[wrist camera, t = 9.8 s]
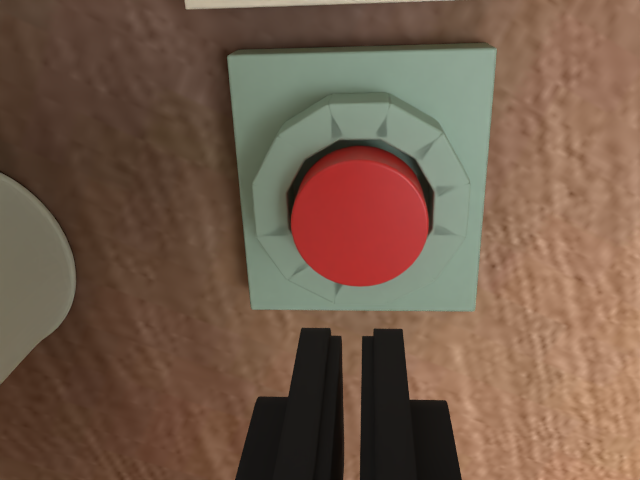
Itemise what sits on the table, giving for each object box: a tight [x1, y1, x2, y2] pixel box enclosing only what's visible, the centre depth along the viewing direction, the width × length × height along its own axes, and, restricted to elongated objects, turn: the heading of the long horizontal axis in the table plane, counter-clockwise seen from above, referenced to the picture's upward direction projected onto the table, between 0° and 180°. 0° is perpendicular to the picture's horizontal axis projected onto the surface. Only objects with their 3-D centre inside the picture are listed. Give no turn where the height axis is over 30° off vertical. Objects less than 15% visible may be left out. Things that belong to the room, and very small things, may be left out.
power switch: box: [227, 43, 497, 311], centre depth 22 cm, size 10×9×4 cm
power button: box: [291, 146, 429, 287], centre depth 20 cm, size 4×4×2 cm
